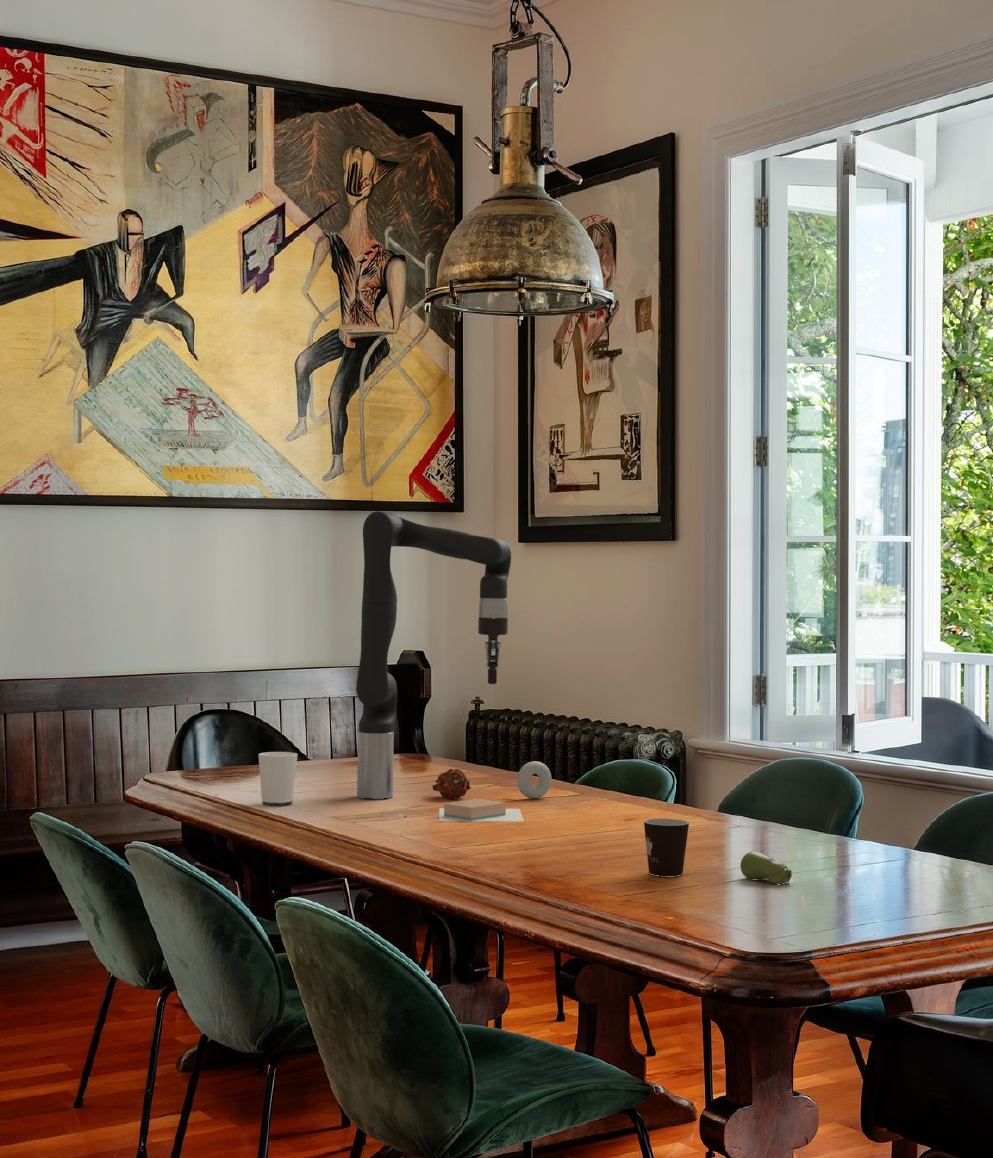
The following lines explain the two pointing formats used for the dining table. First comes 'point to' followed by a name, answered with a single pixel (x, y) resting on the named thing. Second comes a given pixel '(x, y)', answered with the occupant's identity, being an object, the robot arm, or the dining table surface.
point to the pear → (764, 868)
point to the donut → (524, 780)
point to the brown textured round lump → (452, 784)
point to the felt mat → (511, 815)
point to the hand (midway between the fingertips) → (492, 683)
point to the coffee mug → (666, 845)
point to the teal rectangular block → (474, 809)
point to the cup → (277, 777)
